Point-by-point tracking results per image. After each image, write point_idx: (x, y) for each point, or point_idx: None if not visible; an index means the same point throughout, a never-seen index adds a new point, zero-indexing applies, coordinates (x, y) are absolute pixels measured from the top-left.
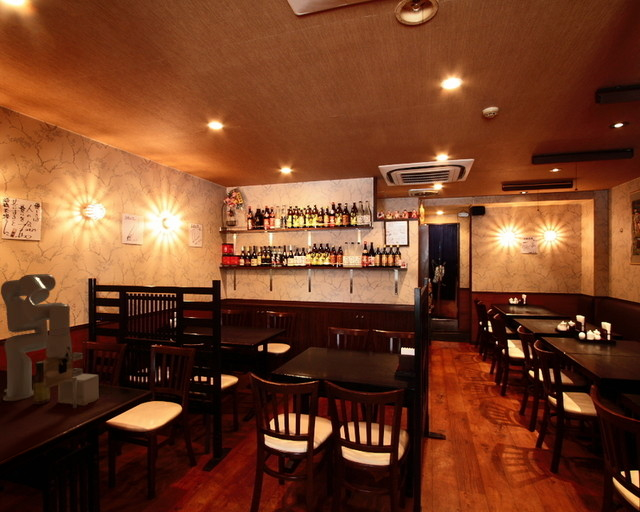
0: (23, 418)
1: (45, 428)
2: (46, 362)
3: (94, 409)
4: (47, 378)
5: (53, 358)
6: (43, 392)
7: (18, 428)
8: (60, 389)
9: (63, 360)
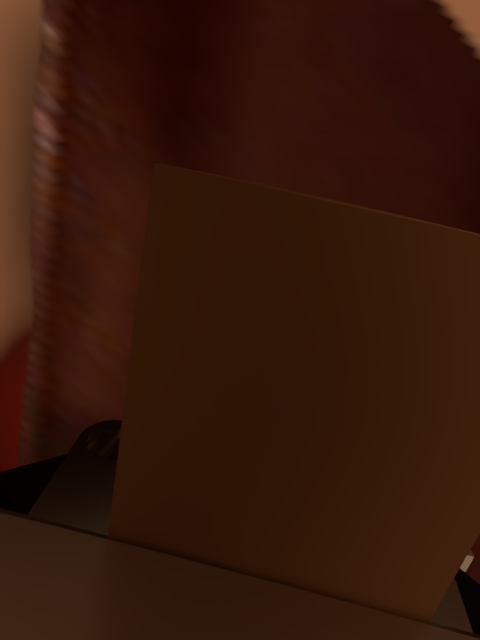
0: (467, 211)
1: (208, 73)
2: (336, 202)
3: (124, 332)
4: (283, 188)
5: (168, 474)
6: None
7: (388, 61)
8: None
9: (27, 511)
